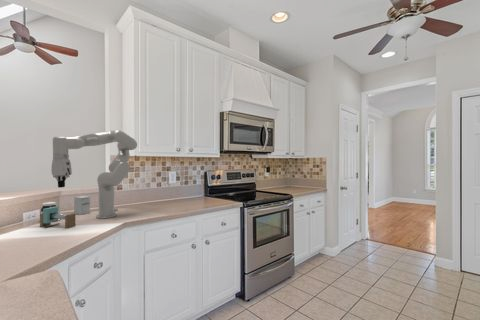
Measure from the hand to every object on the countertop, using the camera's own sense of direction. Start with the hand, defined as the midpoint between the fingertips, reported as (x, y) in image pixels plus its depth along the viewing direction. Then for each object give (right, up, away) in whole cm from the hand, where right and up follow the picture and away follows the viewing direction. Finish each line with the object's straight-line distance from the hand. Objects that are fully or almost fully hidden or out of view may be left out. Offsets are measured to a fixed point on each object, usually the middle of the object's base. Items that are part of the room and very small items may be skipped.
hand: (61, 187), depth 142 cm
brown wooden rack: (-2, -24, 0) cm, 24 cm away
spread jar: (-17, -24, +14) cm, 33 cm away
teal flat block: (-7, -21, +1) cm, 23 cm away
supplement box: (-10, -24, +34) cm, 43 cm away
